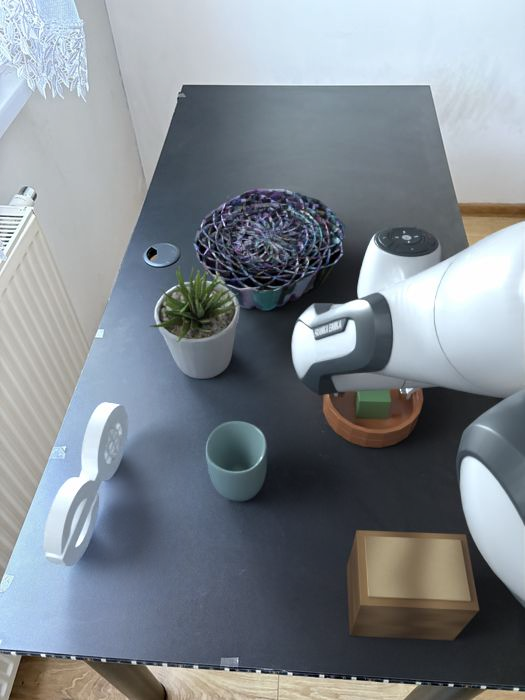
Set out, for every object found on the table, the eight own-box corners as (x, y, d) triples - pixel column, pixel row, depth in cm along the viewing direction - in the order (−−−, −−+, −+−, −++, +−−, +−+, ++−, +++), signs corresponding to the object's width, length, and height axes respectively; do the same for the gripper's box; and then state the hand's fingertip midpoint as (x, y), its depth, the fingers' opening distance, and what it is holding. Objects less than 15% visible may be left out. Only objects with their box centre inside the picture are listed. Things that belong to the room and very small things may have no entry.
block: (383, 394, 91) (388, 376, 88) (386, 419, 88) (391, 402, 85) (354, 393, 91) (357, 376, 88) (355, 418, 89) (359, 401, 85)
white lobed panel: (118, 428, 89) (103, 388, 81) (132, 430, 88) (119, 390, 81) (59, 574, 75) (34, 543, 67) (75, 577, 75) (52, 547, 67)
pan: (437, 420, 89) (443, 403, 85) (361, 466, 84) (365, 450, 81) (376, 358, 97) (380, 340, 93) (304, 397, 92) (305, 379, 88)
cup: (219, 454, 86) (214, 415, 78) (272, 463, 85) (272, 425, 77) (204, 503, 81) (198, 467, 73) (261, 514, 80) (260, 479, 72)
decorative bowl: (367, 272, 112) (376, 228, 105) (270, 349, 98) (273, 304, 90) (265, 216, 123) (268, 173, 116) (165, 277, 109) (160, 232, 102)
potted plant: (143, 369, 96) (119, 278, 80) (200, 318, 103) (187, 226, 87) (203, 408, 91) (189, 319, 75) (258, 352, 98) (255, 260, 82)
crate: (442, 571, 75) (466, 532, 65) (452, 640, 69) (480, 609, 60) (346, 567, 75) (356, 528, 66) (349, 635, 70) (361, 603, 61)
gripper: (304, 349, 75) (300, 410, 86) (467, 354, 75) (443, 414, 85) (304, 312, 80) (300, 375, 90) (459, 316, 79) (436, 379, 89)
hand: (370, 394), depth 88 cm, fingers open, 8 cm apart
